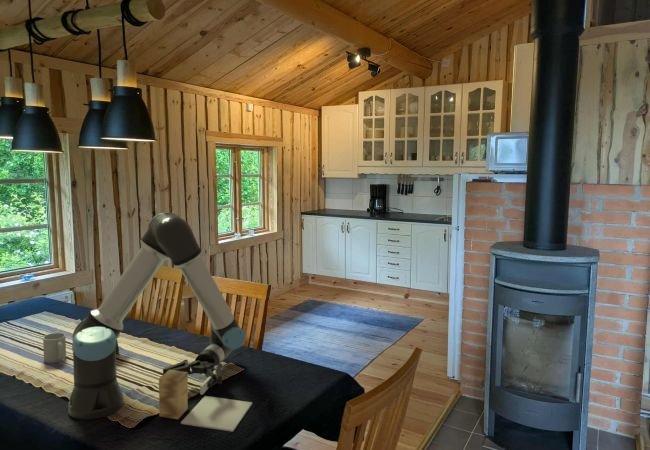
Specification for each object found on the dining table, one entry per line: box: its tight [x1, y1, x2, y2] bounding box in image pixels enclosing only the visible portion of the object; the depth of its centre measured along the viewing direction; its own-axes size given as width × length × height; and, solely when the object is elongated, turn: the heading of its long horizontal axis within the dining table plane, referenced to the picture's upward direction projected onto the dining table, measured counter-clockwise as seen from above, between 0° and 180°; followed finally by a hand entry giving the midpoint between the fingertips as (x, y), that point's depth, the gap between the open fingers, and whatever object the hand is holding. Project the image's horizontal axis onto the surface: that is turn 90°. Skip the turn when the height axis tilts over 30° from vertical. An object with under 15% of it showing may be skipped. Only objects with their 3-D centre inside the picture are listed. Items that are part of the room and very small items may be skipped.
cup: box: [42, 332, 67, 364], centre depth 176 cm, size 7×10×9 cm
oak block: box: [158, 370, 189, 420], centre depth 143 cm, size 6×6×12 cm
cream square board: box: [180, 395, 253, 433], centre depth 144 cm, size 16×16×1 cm
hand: (180, 387), depth 145 cm, fingers open, 13 cm apart
